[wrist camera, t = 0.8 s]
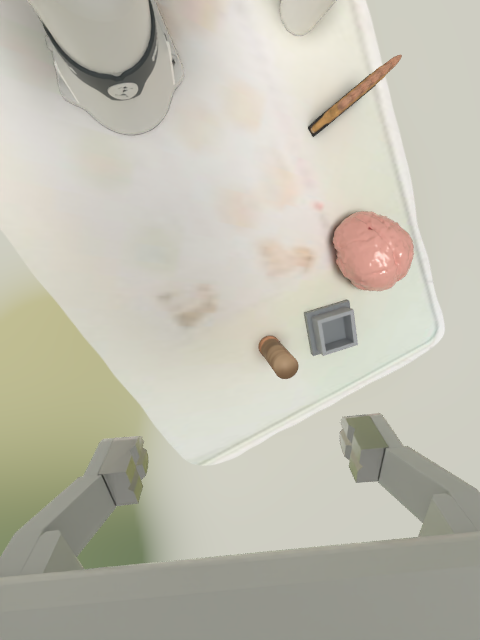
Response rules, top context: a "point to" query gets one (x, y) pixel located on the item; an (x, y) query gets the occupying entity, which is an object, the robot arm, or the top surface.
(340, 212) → the top surface
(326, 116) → the ammunition clip
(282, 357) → the brown rounded peg
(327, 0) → the foam cup
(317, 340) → the socket block
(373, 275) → the brain
